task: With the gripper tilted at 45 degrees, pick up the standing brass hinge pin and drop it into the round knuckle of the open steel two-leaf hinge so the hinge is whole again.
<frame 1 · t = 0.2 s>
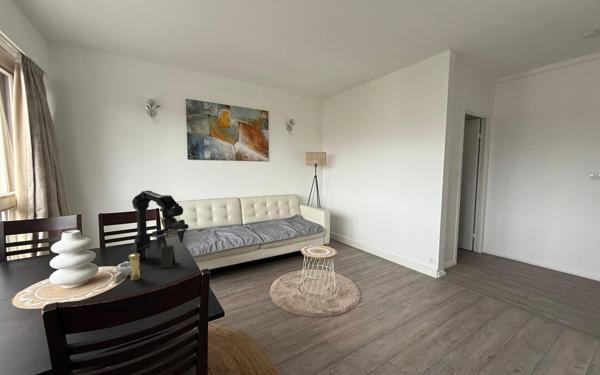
hand: (173, 245, 139), 15 cm above the table, tool pointing down, fingers open, 9 cm apart
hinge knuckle: (126, 272, 137), on the table
door stopper: (168, 265, 148), on the table
hinge pin: (135, 278, 131), on the table
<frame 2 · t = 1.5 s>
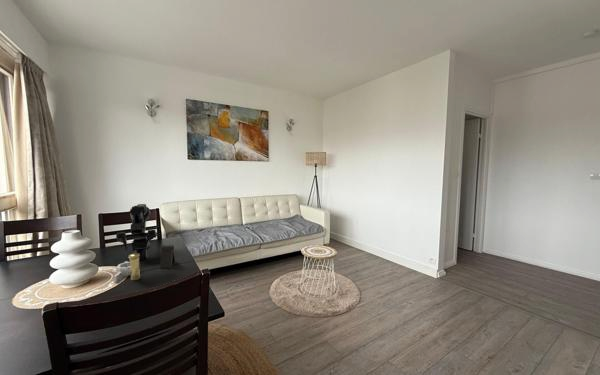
hand: (136, 249, 137), 13 cm above the table, tool tilted 45°, fingers open, 9 cm apart
nothing on the table moved.
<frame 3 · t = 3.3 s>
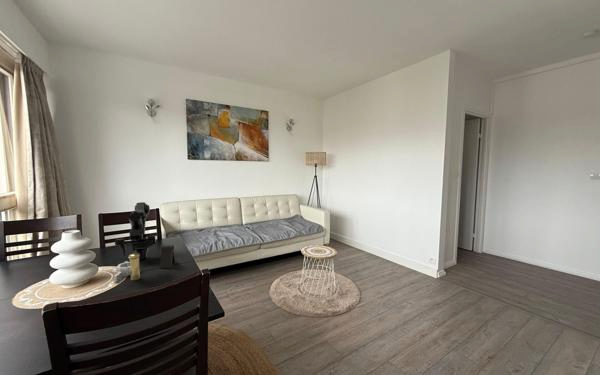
hand: (135, 255, 134), 11 cm above the table, tool tilted 45°, fingers open, 9 cm apart
nothing on the table moved.
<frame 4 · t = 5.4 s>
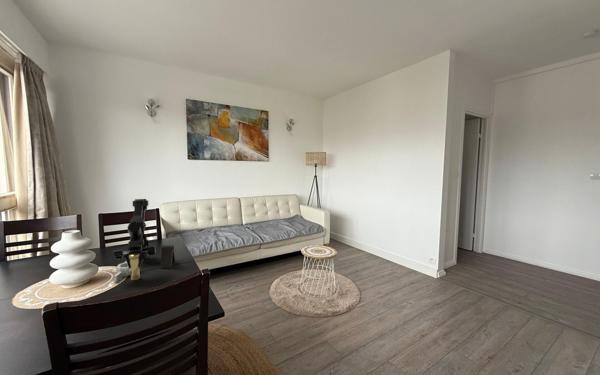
hand: (134, 267, 129), 7 cm above the table, tool tilted 45°, fingers closed on hinge pin, 4 cm apart
hinge pin: (135, 278, 131), on the table, touching gripper
everything else where it was.
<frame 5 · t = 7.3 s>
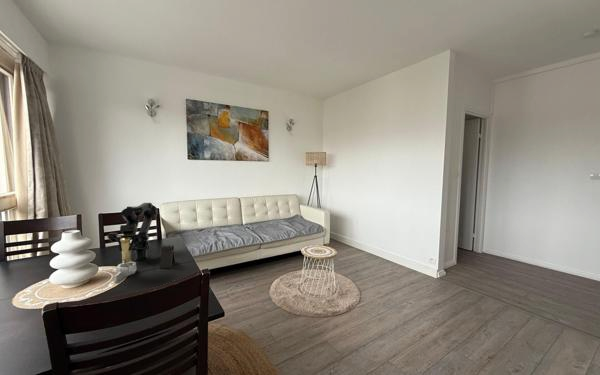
hand: (125, 250, 134), 13 cm above the table, tool tilted 45°, fingers closed on hinge pin, 4 cm apart
hinge pin: (126, 261, 136), point 7 cm above the table, touching gripper
everything else where it was.
when the fingers open (8 cm above the table, at t = 9.5 s): hinge pin drops 1 cm, resting in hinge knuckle.
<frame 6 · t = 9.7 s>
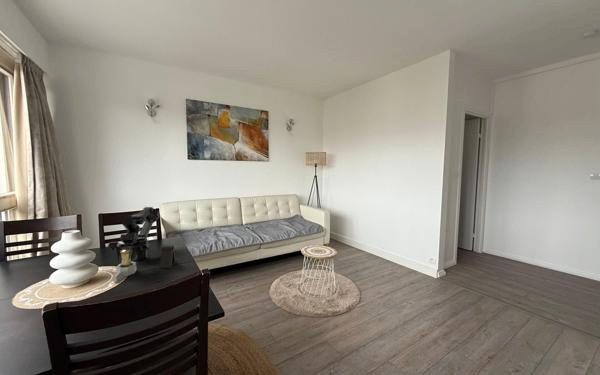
hand: (124, 259, 135), 8 cm above the table, tool tilted 45°, fingers open, 6 cm apart
hinge pin: (126, 272, 137), resting in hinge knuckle
everything else where it was.
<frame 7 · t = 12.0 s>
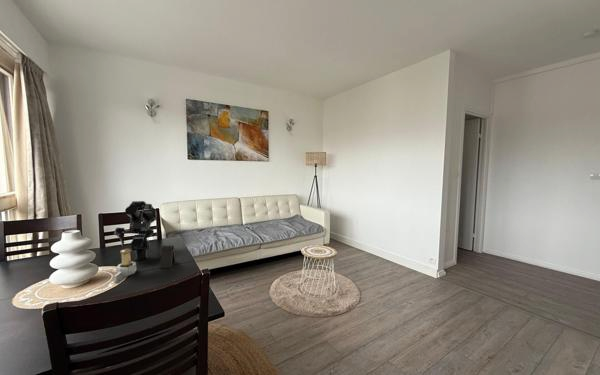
hand: (132, 246, 141), 13 cm above the table, tool tilted 35°, fingers open, 9 cm apart
nothing on the table moved.
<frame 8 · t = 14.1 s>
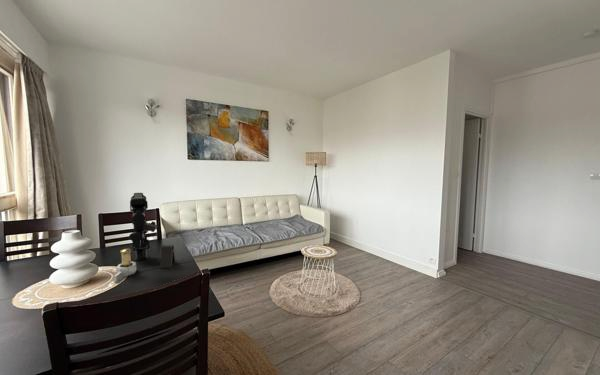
hand: (140, 246, 143), 13 cm above the table, tool pointing down, fingers open, 9 cm apart
nothing on the table moved.
at the end: hinge pin 0.1 cm from the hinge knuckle (horizontally); hinge pin resting in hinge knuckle; hinge pin tilted 0° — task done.
